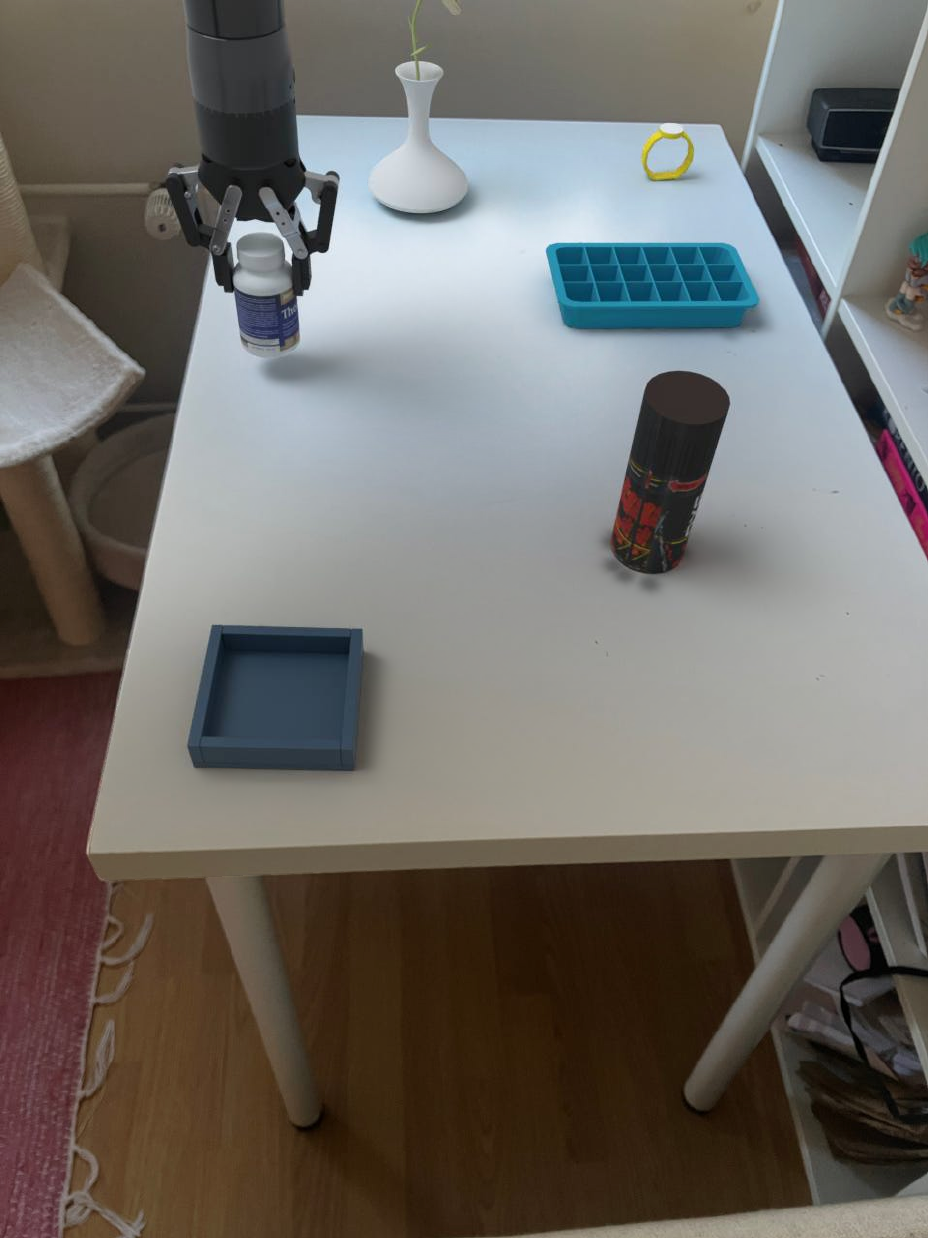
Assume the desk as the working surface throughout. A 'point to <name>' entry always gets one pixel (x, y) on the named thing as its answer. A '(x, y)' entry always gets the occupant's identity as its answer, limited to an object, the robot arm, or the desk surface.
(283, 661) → the tray
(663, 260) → the ice cube tray
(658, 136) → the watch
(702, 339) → the desk surface
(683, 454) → the deodorant
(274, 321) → the pill bottle
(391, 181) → the flower in vase
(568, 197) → the desk surface
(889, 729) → the desk surface
